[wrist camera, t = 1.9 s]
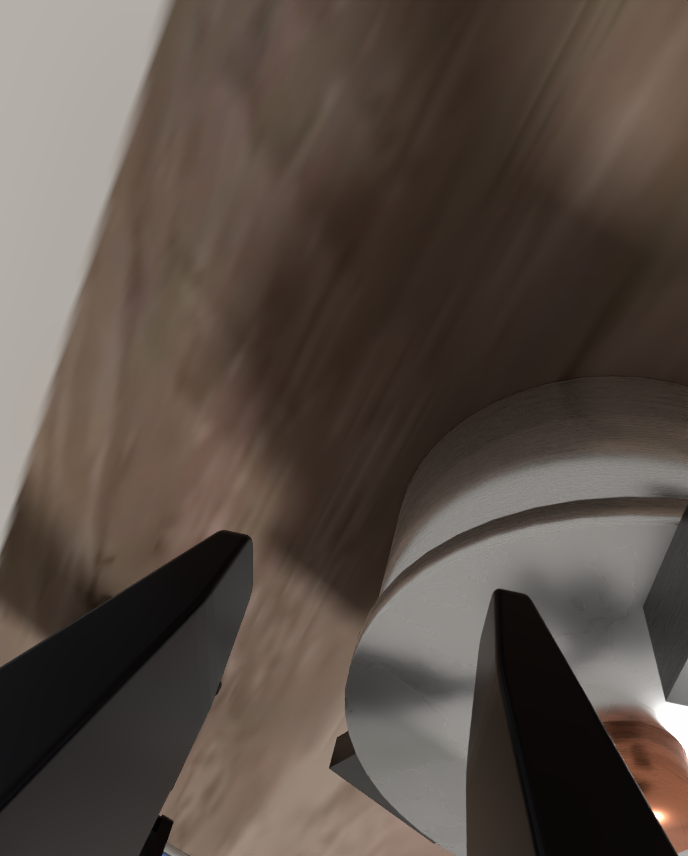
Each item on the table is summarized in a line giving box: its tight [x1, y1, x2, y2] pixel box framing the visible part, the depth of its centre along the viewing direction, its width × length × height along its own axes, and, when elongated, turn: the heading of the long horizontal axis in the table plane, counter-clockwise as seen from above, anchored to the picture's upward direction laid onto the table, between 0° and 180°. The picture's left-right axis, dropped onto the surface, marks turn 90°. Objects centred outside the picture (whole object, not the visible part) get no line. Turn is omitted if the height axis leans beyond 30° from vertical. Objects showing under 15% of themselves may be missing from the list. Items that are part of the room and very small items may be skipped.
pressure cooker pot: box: [329, 376, 688, 843], centre depth 19 cm, size 25×14×6 cm, turn 141°
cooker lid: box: [345, 497, 688, 856], centre depth 14 cm, size 20×15×3 cm
